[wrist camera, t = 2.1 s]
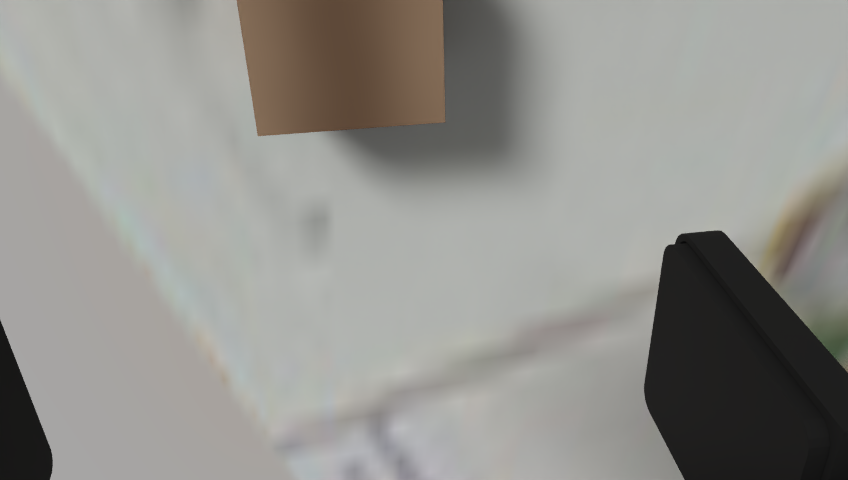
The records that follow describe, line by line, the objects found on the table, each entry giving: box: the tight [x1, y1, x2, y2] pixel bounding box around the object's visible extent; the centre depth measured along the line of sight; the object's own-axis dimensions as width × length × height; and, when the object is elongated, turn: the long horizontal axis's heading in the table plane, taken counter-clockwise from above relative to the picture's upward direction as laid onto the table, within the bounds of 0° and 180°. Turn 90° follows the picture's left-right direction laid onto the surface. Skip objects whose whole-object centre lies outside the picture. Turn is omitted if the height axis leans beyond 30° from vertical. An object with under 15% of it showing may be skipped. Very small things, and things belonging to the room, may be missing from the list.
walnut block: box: [237, 0, 445, 136], centre depth 26 cm, size 6×6×6 cm
